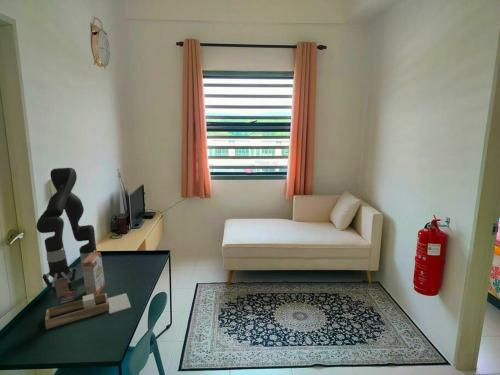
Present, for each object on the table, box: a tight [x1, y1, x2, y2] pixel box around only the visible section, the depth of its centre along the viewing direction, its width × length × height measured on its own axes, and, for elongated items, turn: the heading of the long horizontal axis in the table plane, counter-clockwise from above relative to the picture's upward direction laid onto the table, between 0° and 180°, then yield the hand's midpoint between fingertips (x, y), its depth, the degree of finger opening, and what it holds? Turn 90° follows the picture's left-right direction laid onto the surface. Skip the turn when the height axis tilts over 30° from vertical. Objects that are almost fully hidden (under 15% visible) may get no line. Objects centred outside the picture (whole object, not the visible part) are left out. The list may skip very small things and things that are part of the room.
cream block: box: [82, 293, 97, 309], centre depth 155 cm, size 6×5×7 cm
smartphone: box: [57, 288, 78, 306], centre depth 170 cm, size 7×1×15 cm
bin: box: [44, 292, 110, 330], centre depth 153 cm, size 12×27×4 cm, turn 120°
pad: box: [108, 292, 132, 315], centre depth 160 cm, size 16×10×1 cm, turn 30°
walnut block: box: [55, 278, 70, 298], centre depth 148 cm, size 6×5×7 cm
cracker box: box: [81, 251, 106, 296], centre depth 172 cm, size 14×6×21 cm, turn 8°
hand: (63, 290), depth 149 cm, fingers closed on walnut block, 5 cm apart
